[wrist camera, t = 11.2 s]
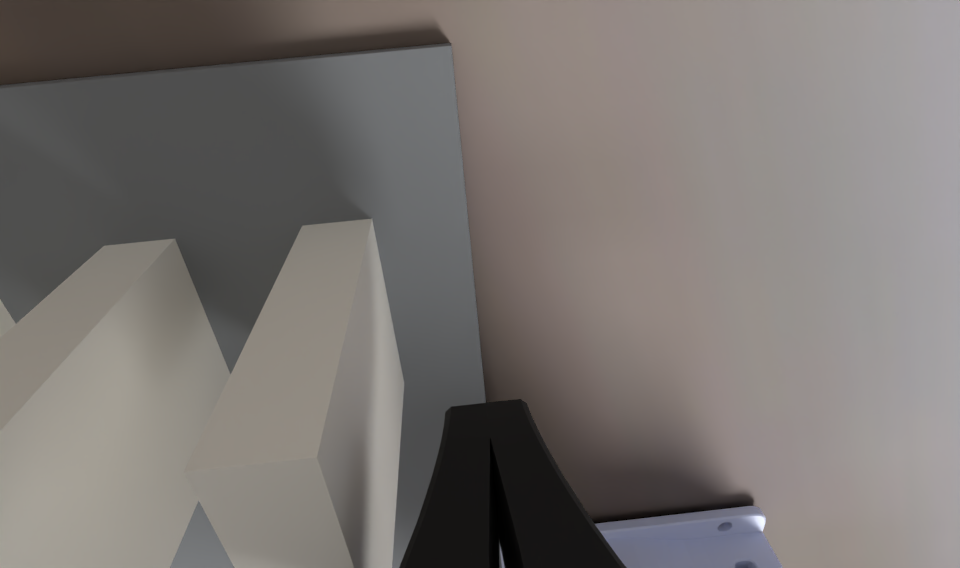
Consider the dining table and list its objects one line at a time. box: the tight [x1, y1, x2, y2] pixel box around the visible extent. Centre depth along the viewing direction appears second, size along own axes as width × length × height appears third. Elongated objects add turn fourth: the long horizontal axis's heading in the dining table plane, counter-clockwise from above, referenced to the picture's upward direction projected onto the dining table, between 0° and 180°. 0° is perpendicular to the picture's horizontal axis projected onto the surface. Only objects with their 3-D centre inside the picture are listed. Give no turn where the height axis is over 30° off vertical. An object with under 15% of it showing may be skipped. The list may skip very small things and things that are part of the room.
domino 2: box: [184, 219, 404, 568], centre depth 11 cm, size 2×5×7 cm, turn 4°
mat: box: [0, 43, 502, 568], centre depth 16 cm, size 26×19×1 cm
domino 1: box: [0, 239, 231, 568], centre depth 11 cm, size 2×5×7 cm, turn 4°
